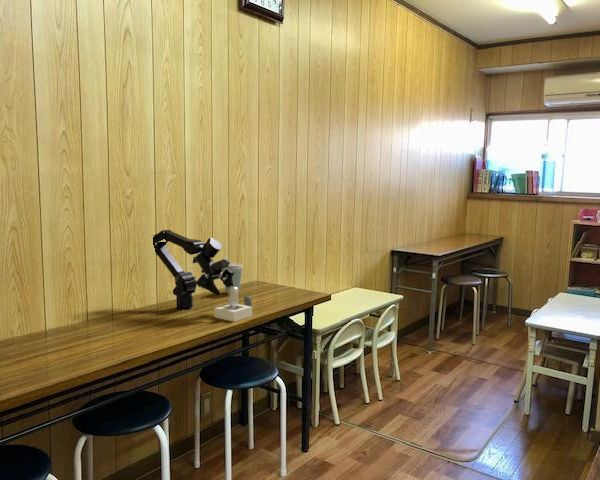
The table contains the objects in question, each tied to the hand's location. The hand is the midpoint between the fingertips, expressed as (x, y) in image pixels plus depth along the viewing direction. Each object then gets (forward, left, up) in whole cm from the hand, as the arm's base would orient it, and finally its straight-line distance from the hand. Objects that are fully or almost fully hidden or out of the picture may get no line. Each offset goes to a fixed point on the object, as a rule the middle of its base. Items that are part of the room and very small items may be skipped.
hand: (226, 293), depth 222 cm
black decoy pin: (+7, +10, -10) cm, 15 cm away
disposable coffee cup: (-6, +45, -10) cm, 46 cm away
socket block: (+3, -2, -10) cm, 10 cm away
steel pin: (+3, -2, -10) cm, 10 cm away
